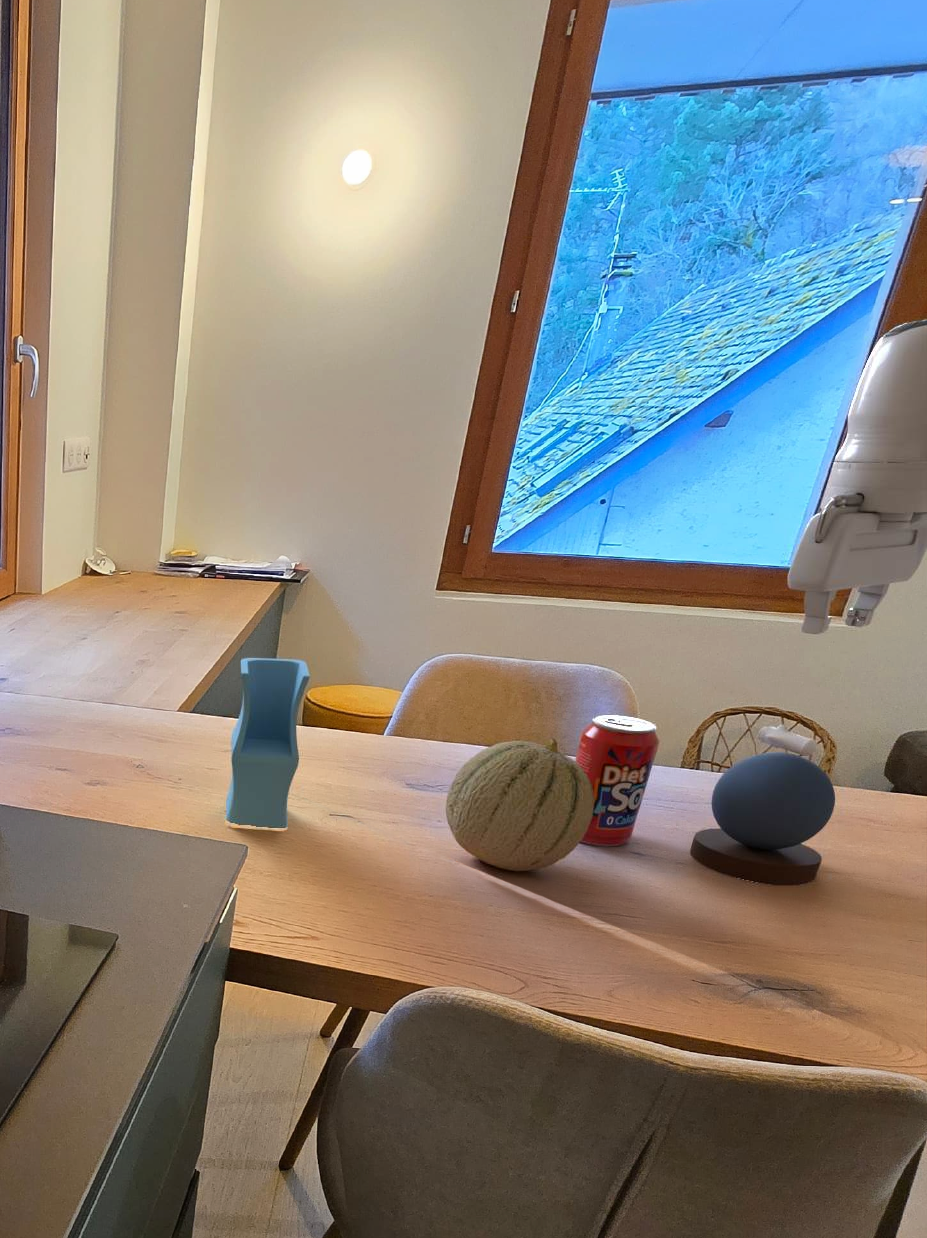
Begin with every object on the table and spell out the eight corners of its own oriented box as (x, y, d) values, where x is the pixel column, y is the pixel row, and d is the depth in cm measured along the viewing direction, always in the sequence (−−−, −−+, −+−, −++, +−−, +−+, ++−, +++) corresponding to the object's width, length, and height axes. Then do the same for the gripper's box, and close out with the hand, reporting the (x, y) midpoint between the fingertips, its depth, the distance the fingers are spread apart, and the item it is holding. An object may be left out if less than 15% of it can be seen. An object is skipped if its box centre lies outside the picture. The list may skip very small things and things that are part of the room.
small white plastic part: (791, 760, 111) (796, 732, 110) (750, 748, 116) (755, 721, 115) (824, 757, 110) (830, 729, 109) (782, 746, 116) (787, 719, 115)
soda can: (563, 821, 131) (593, 708, 125) (633, 836, 127) (668, 720, 120) (549, 841, 126) (580, 724, 119) (622, 857, 121) (658, 737, 115)
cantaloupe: (411, 860, 120) (435, 738, 113) (473, 828, 128) (499, 713, 121) (539, 905, 109) (574, 774, 103) (598, 867, 118) (634, 743, 111)
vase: (224, 827, 129) (240, 673, 121) (224, 804, 136) (239, 656, 128) (288, 832, 128) (310, 676, 119) (285, 809, 135) (305, 659, 126)
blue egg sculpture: (835, 874, 116) (877, 760, 111) (781, 894, 111) (822, 776, 106) (722, 841, 126) (755, 735, 121) (667, 858, 121) (699, 748, 116)
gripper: (867, 496, 97) (821, 642, 103) (961, 491, 106) (913, 626, 112) (792, 493, 102) (751, 633, 108) (887, 489, 112) (845, 618, 117)
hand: (835, 629), depth 110 cm, fingers open, 8 cm apart
